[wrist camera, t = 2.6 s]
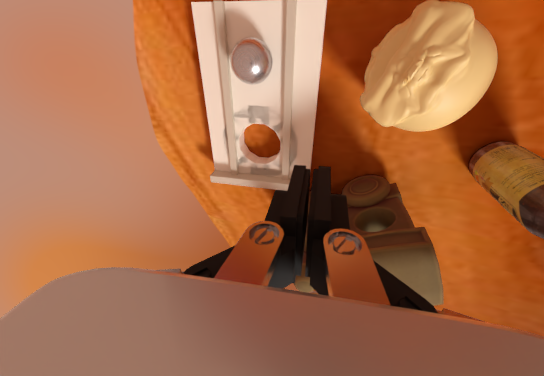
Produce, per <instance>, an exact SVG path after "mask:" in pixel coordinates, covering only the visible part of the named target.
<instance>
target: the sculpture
mask: <svg viewBox="0 0 544 376" xmlns="http://www.w3.org/2000/svg"><path fill="white" fill-rule="evenodd" d="M371 56H372V57H371V59H370V62H369V64H368V66H367V69H366V72H365V76H364V81H365V90H364V92H363V93H362V95H361V97H360V102H361V106H362V107H363V109H364V110H365V111H367V112H368V113H369V114H370V115H371V116H372V118H373V119H374V120H375V121H376V122H378V123H379V124H380V125H382V126H385V127H389V126H394V127H397V128H400V129H403V130H408V131H430V130H435V129H438V128H441V127H444V126H446V125H449V124H451V123H452V122H454V121H456V120H458V119H459V118H461V117H462V116H463V115H465V114H466V113H467V112H468V111H470V110H471V109H472V108H473V107H474V106H475V105H476V104H477V103H478V102H479V100H480V99H481V98H482V97H483V95H484V94H485V92H486V91H487V89H488V88H489V86H490V84H491V82H492V80H493V77H494V74H495V71H496V67H497V60H498V54H497V47H496V44H495V41H494V39H493V37H492V35H491V34H490V32H489V31H488V30H487V29H486V27H485V26H484V25H482V24H481V23H480V22H479V21H477V20H476V19H475V17H474V11H473V8H472V7H471V6H470V5H468V4H465V3H460V2H449V1H443V2H440V1H438V0H428V1H425V2H423V3H421V4H419V5H418V6H416V8H415V9H414V11H413V13H412V15H411V16H410V17H409V18H408V19H407V20H405V21H404V22H403V23H401V24H398V25H396V26H395V27H393V28H392V29H391V30H390V31H389V32H388V33H387V35H386V36H385V37H384V39H383V40H382V41H381V42H380V44H379V45H378V46H377V47H375V48H374V49H373V50H372V52H371Z"/></svg>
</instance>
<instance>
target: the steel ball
mask: <svg viewBox="0 0 544 376" xmlns="http://www.w3.org/2000/svg"><path fill="white" fill-rule="evenodd" d="M230 62H231V68H232V70H233V72H234V74H235V76H236V77H237V78H238V79H239V80H240V81H242V82H244V83H246V84H250V85H255V84H259V83H261V82H263V81H264V80H265V79H266V78H267V77H268V76H269V74H270V72H271V70H272V65H273V59H272V54H271V51H270V49H269V47H268V46H267V45H266V44H265V43H264V42H263V41H262V40H260V39H258V38H255V37H247V38H243V39H241V40H240V41H239V42H237V43H236V45H235V46H234V48H233V50H232V52H231V58H230Z"/></svg>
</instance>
